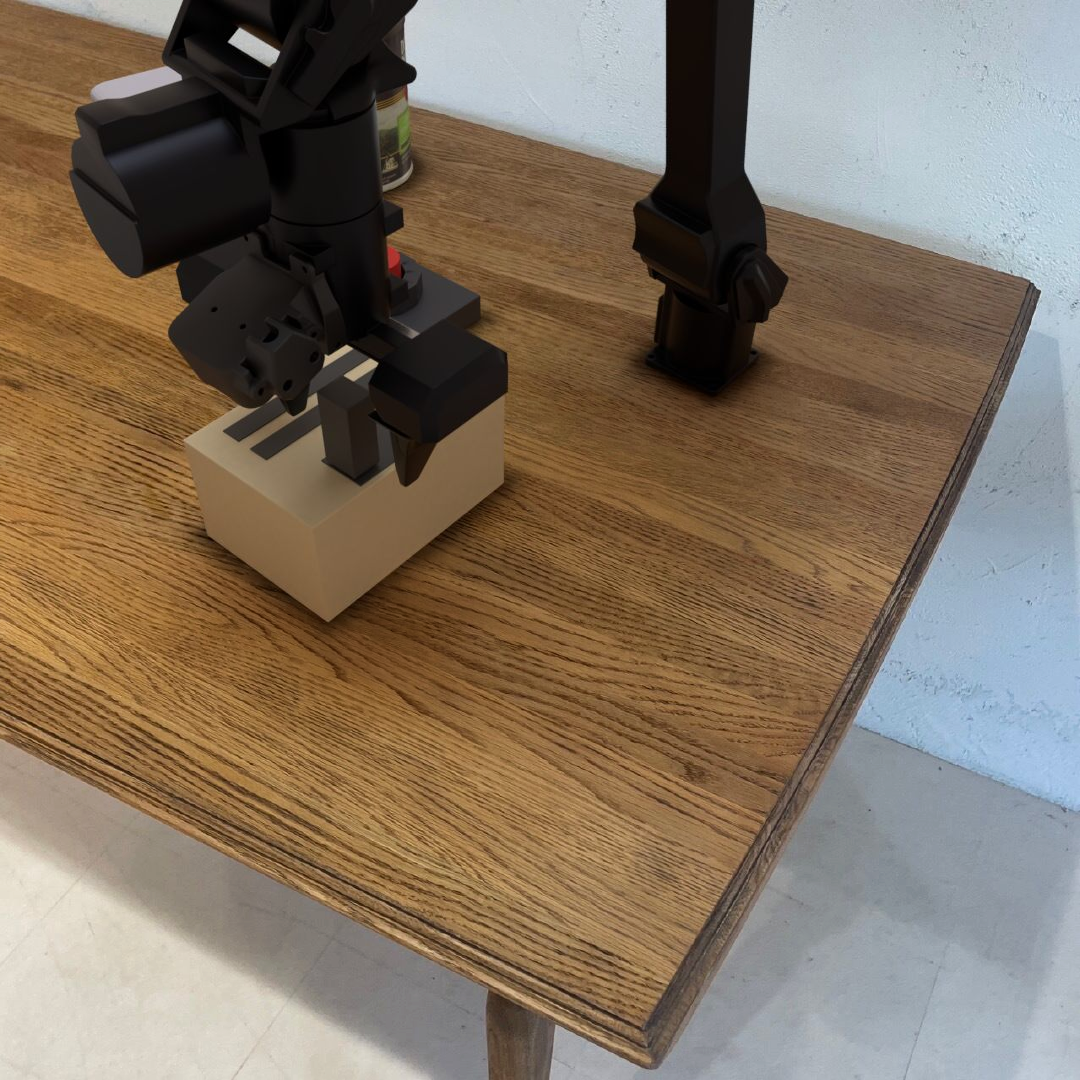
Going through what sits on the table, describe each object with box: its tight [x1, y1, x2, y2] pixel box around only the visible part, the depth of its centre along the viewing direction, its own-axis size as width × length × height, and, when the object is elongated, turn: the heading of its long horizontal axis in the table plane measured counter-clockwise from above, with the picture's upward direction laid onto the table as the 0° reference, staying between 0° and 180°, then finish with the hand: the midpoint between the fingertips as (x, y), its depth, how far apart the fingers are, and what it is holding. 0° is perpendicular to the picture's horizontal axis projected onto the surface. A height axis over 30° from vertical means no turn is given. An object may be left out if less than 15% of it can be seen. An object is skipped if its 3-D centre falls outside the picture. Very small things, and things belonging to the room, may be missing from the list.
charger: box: [90, 65, 182, 103], centre depth 104 cm, size 5×9×15 cm
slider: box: [317, 376, 380, 478], centre depth 63 cm, size 2×2×5 cm
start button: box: [387, 245, 401, 278], centre depth 86 cm, size 4×4×2 cm
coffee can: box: [376, 16, 414, 194], centre depth 100 cm, size 10×10×14 cm
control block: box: [390, 250, 482, 333], centre depth 87 cm, size 12×10×4 cm
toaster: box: [182, 345, 506, 623], centre depth 71 cm, size 11×16×8 cm
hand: (351, 446), depth 64 cm, fingers open, 9 cm apart
